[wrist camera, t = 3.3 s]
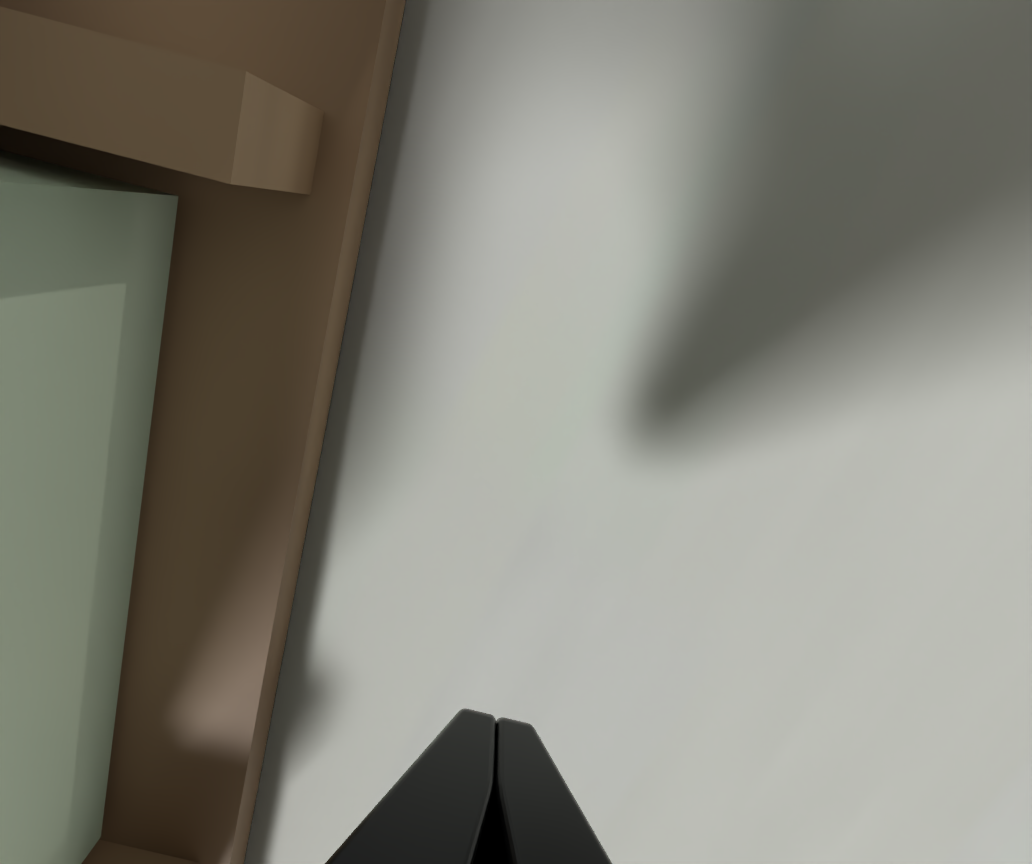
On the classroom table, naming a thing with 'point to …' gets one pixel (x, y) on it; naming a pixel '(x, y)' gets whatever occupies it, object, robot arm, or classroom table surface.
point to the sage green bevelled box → (70, 483)
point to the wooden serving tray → (215, 350)
